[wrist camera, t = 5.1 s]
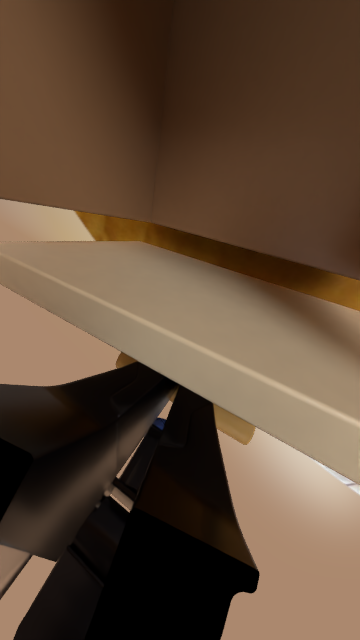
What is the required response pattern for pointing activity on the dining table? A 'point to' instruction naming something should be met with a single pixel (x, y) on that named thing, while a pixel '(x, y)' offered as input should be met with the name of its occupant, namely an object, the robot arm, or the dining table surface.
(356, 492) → the dining table surface
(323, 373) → the drawer
